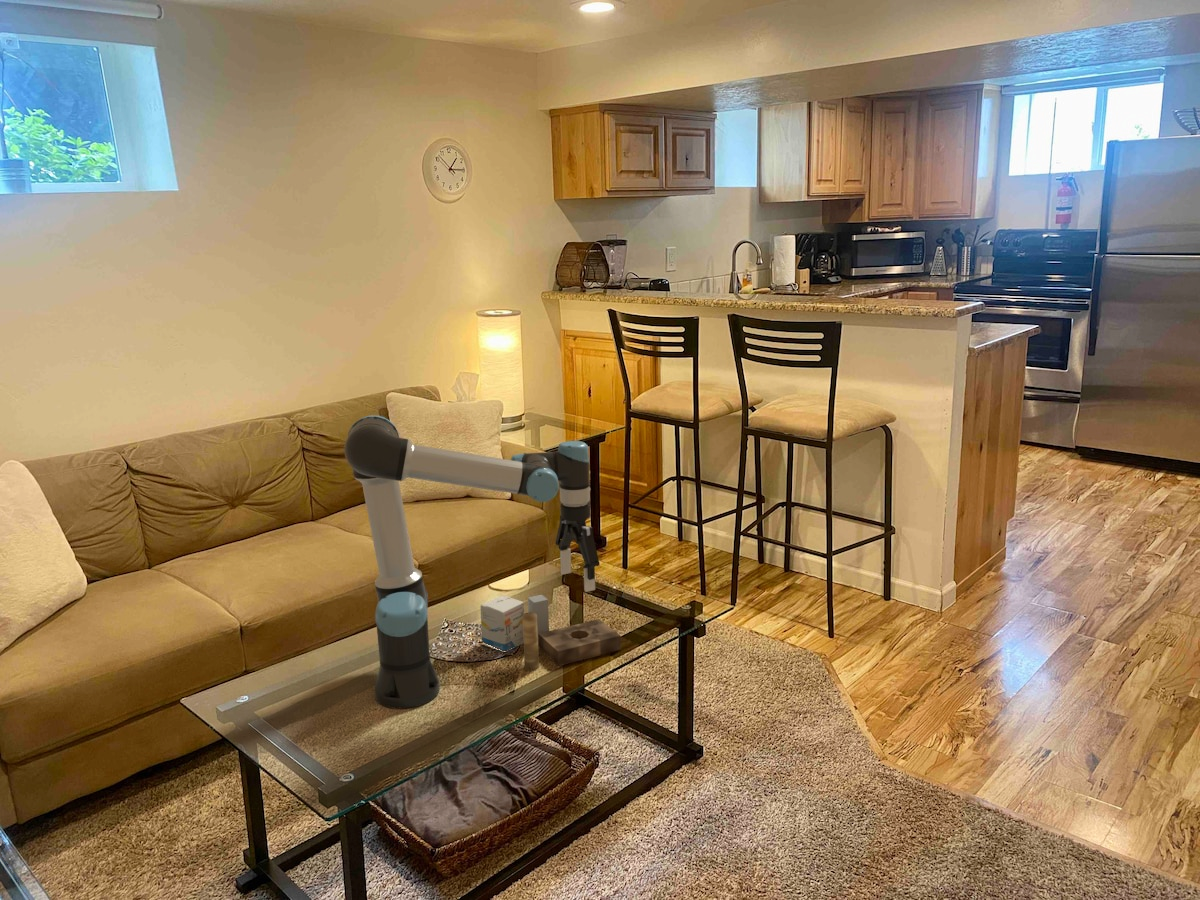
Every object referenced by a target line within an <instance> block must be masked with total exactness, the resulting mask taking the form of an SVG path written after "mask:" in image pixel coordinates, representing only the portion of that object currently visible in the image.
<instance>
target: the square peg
mask: <svg viewBox="0 0 1200 900" xmlns="http://www.w3.org/2000/svg"><path fill="white" fill-rule="evenodd" d="M527 603H528V604H527V606H528V613H529V612H532V613H536V614H537V631H538V634H539V633H543V632H547V631H550V621H549V619H550V617H549V615H550V614H549V599H548V598H547V597H545V596H544V594H539V595H533V596H528V597H527ZM538 645H539V637H538Z"/></svg>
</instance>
